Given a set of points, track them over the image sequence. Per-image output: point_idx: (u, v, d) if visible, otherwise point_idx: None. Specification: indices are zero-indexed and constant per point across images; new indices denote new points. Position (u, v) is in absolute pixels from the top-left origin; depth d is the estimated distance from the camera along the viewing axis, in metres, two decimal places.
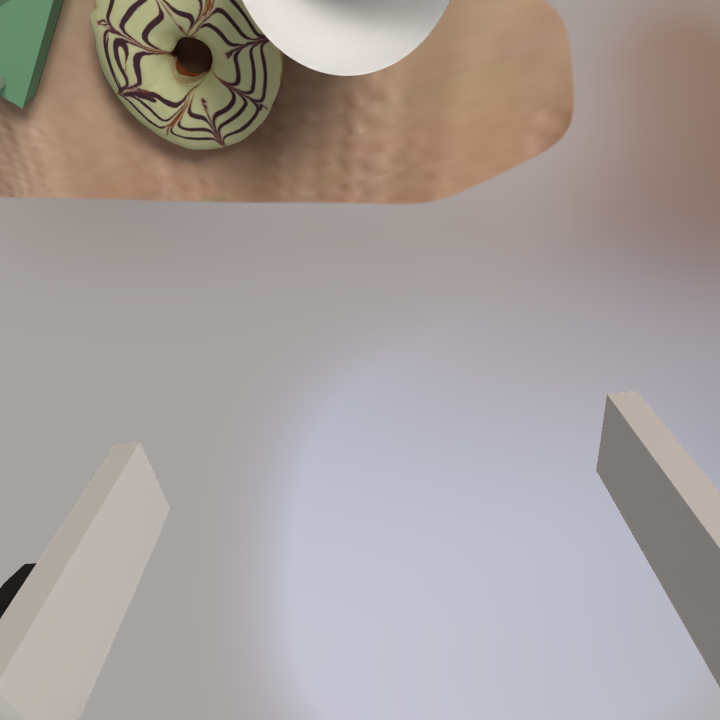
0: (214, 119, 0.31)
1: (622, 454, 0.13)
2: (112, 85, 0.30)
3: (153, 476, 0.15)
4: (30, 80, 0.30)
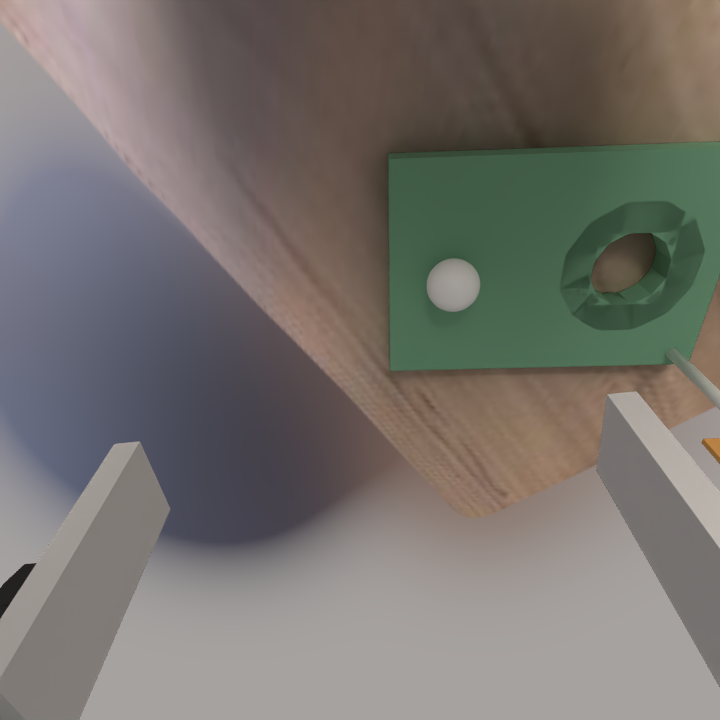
0: None
1: (622, 454, 0.13)
2: None
3: (153, 476, 0.15)
4: (695, 339, 0.36)
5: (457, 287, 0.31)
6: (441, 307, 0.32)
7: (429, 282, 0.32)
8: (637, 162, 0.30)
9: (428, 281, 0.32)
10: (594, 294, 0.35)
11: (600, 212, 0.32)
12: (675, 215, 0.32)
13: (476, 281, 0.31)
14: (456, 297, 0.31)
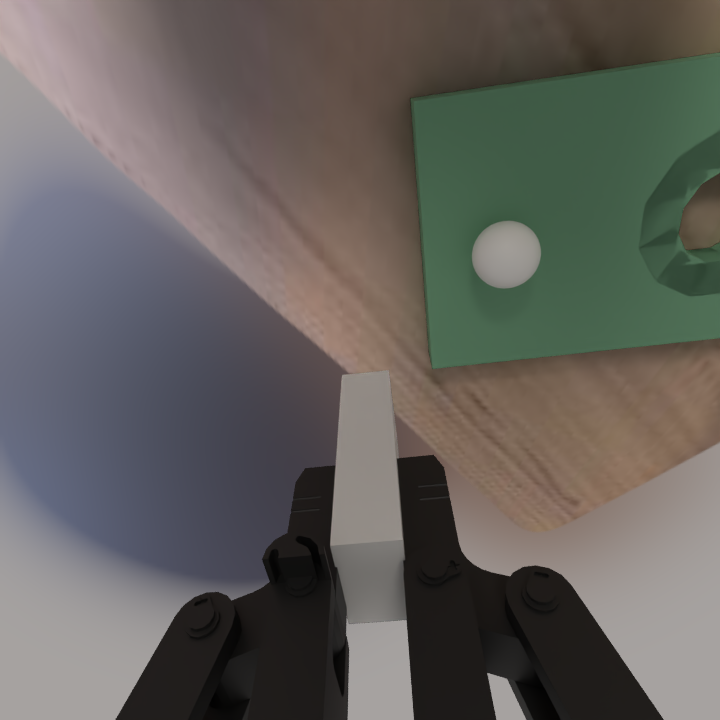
0: None
1: None
2: None
3: None
4: None
5: (513, 255, 0.24)
6: (493, 283, 0.26)
7: (476, 253, 0.25)
8: None
9: (475, 252, 0.25)
10: (683, 251, 0.27)
11: (689, 143, 0.25)
12: None
13: (536, 246, 0.25)
14: (513, 268, 0.24)
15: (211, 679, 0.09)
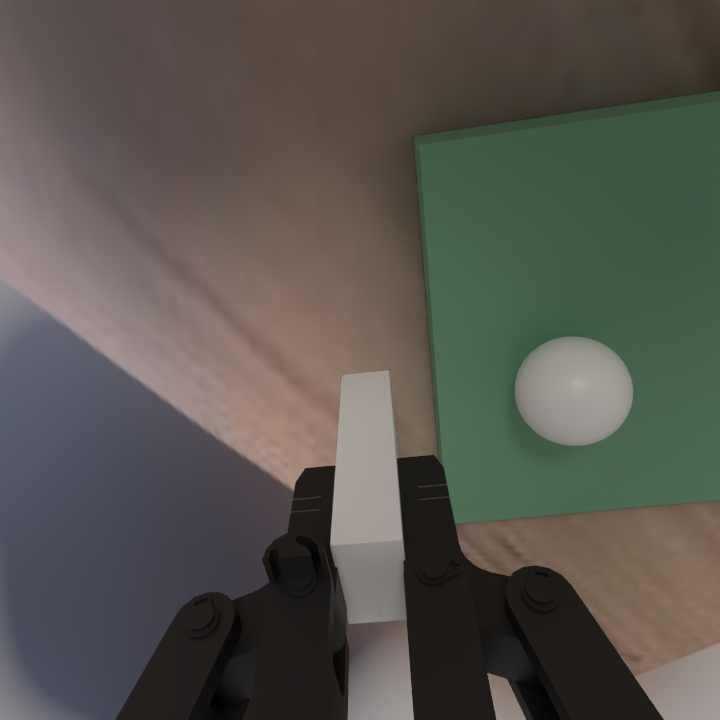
0: None
1: None
2: None
3: None
4: None
5: (593, 407, 0.14)
6: (553, 441, 0.15)
7: (524, 393, 0.15)
8: None
9: (522, 390, 0.15)
10: None
11: None
12: None
13: (629, 386, 0.15)
14: (590, 426, 0.14)
15: (211, 679, 0.09)
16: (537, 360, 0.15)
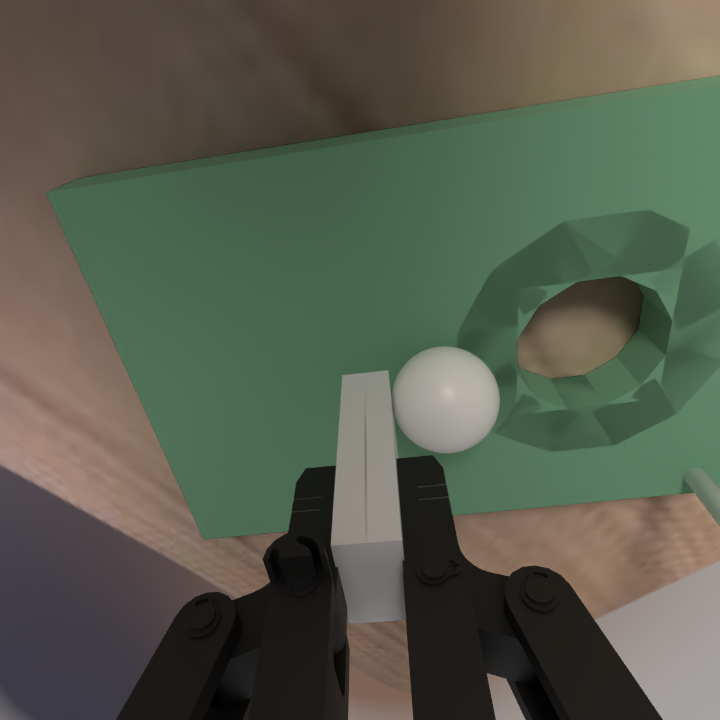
0: None
1: None
2: None
3: None
4: None
5: None
6: None
7: None
8: (569, 137, 0.14)
9: None
10: (530, 395, 0.18)
11: (508, 248, 0.15)
12: (668, 237, 0.15)
13: (394, 391, 0.16)
14: None
15: (211, 679, 0.09)
16: None
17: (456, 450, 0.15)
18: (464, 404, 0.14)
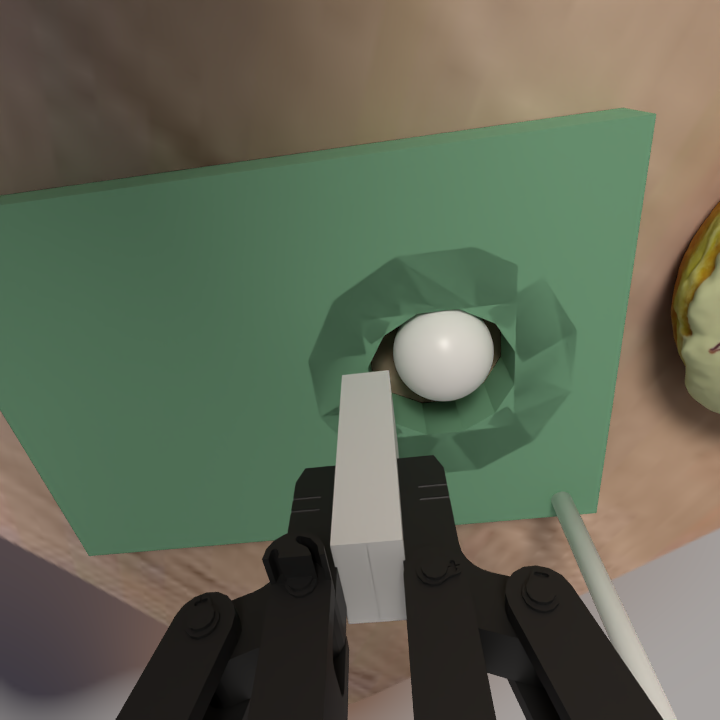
0: None
1: None
2: None
3: None
4: (600, 475, 0.20)
5: (489, 334, 0.17)
6: (466, 383, 0.16)
7: (439, 337, 0.16)
8: (387, 178, 0.14)
9: (436, 336, 0.16)
10: None
11: (345, 281, 0.16)
12: (498, 273, 0.16)
13: None
14: (491, 353, 0.17)
15: (211, 679, 0.09)
16: (432, 312, 0.16)
17: None
18: None
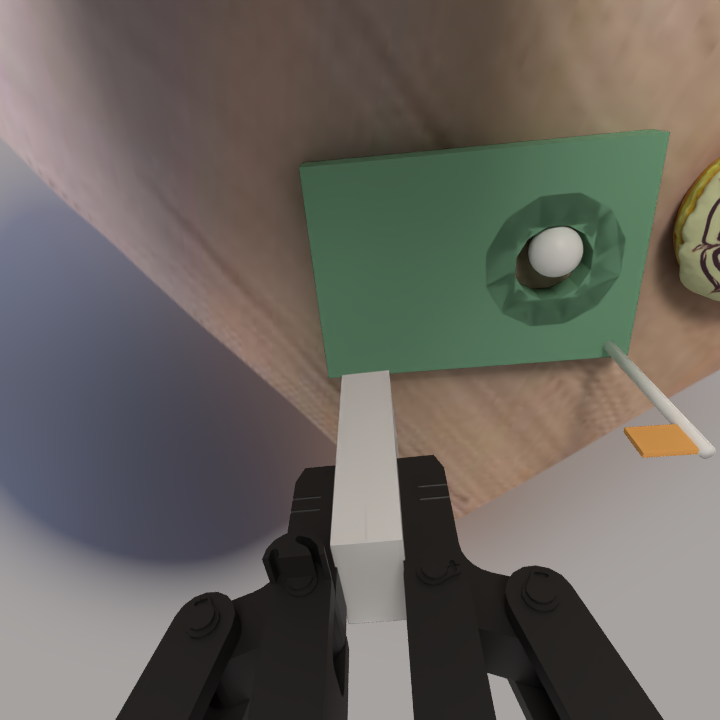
0: None
1: None
2: (704, 289, 0.34)
3: None
4: (631, 330, 0.36)
5: (581, 241, 0.33)
6: (571, 263, 0.32)
7: (560, 238, 0.32)
8: (544, 156, 0.30)
9: (558, 238, 0.32)
10: (521, 290, 0.34)
11: (514, 208, 0.32)
12: (590, 206, 0.32)
13: None
14: (582, 250, 0.33)
15: (211, 679, 0.09)
16: (554, 227, 0.32)
17: None
18: None
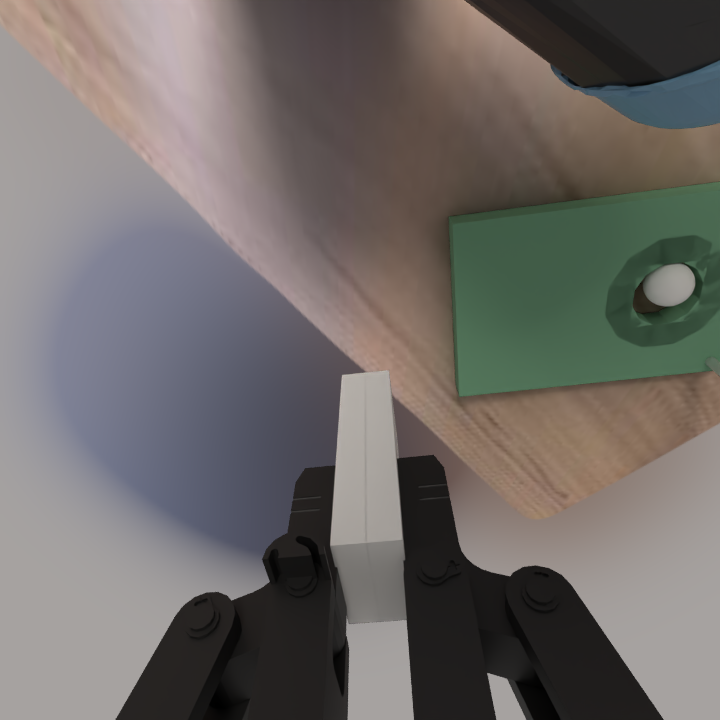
0: None
1: None
2: None
3: None
4: None
5: (693, 275, 0.38)
6: (685, 296, 0.37)
7: (677, 275, 0.37)
8: (666, 206, 0.35)
9: (675, 275, 0.37)
10: (636, 317, 0.39)
11: (637, 249, 0.37)
12: (703, 246, 0.37)
13: None
14: (694, 283, 0.38)
15: (211, 679, 0.09)
16: (670, 265, 0.37)
17: None
18: None
